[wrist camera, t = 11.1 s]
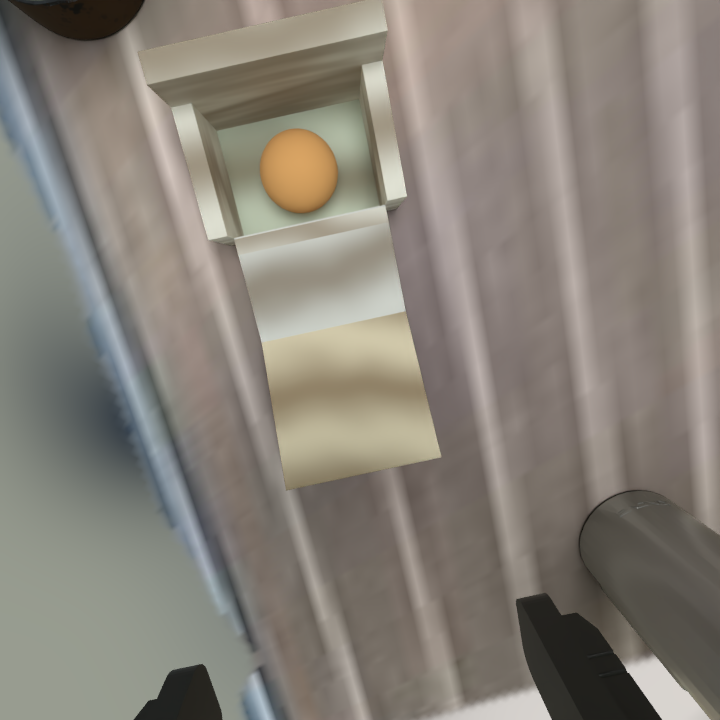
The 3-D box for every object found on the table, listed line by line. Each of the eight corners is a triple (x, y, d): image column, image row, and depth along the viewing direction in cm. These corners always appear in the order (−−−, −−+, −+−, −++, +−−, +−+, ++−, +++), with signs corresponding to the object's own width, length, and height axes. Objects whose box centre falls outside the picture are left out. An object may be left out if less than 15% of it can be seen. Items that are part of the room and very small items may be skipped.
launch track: (436, 419, 34) (463, 463, 26) (286, 451, 34) (268, 505, 26) (371, 72, 29) (381, -4, 21) (194, 112, 29) (137, 51, 21)
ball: (348, 220, 28) (337, 172, 30) (337, 153, 24) (324, 103, 26) (276, 236, 28) (270, 186, 31) (250, 172, 24) (246, 121, 26)
